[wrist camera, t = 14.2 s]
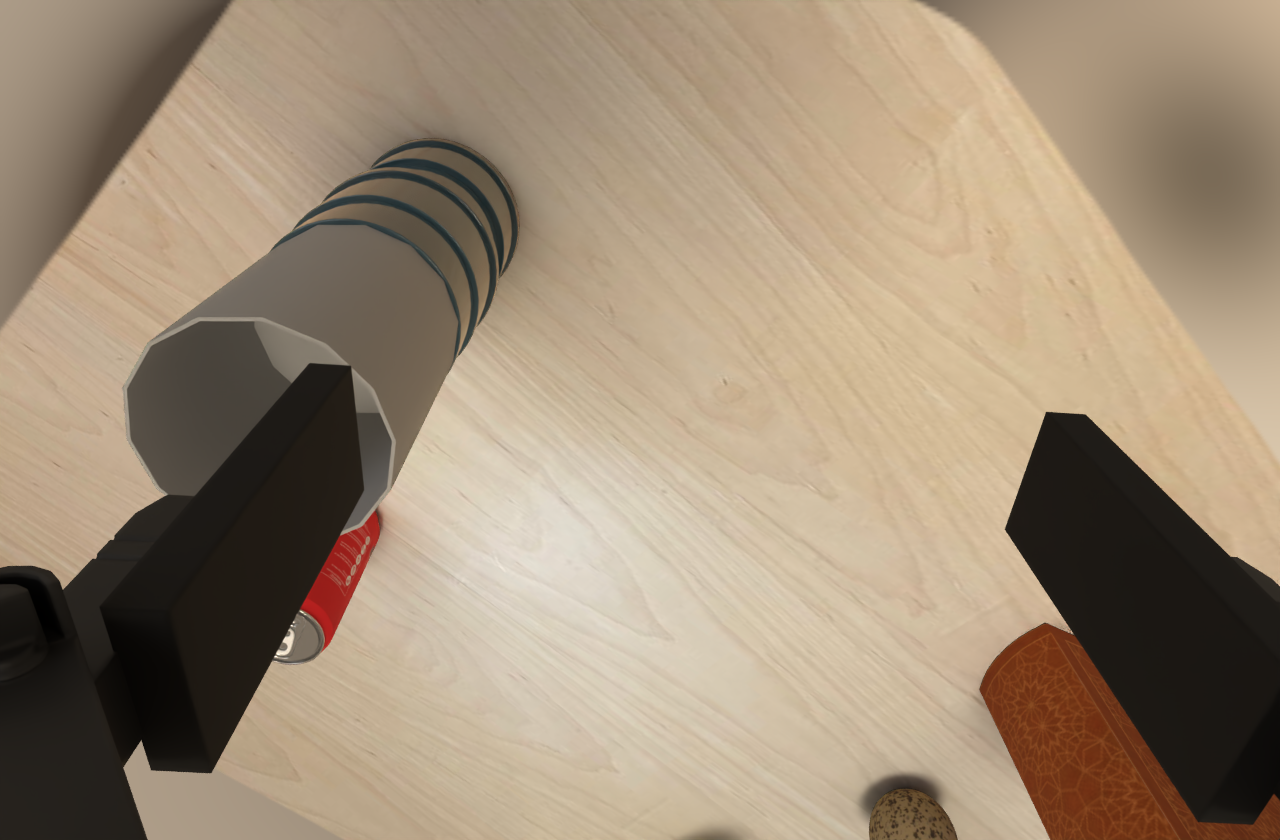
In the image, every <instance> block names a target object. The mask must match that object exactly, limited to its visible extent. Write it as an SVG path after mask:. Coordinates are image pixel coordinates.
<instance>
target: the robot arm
mask: <svg viewBox="0 0 1280 840" xmlns="http://www.w3.org/2000/svg"><path fill="white" fill-rule="evenodd" d="M363 492H364V481H363V472H362V462H361V453H360V444H359V434H358V425H357V415H356V406H355V396H354V387H353V377H352V368H351V366H348V365H333V364H318V363H309V364H308V365H307V366H306V368H305V369H304V370H303V371H302V372H301V373H300V374H299V376H298V377H297V378H296V379H295V380H294V381H293V383H292V384H291V385H290V386H289V387H288V388H287V390H286V391H285V392H284V393H283V394H282V395H281V397H280V398H279V399H278V400H277V401H276V402H275V403H274V405H273V406H272V407H271V408H270V409H269V410H268V412H267V413H266V414H265V415H264V416H263V417H262V419H261V420H260V421H259V422H258V423H257V424H256V426H255V427H254V428H253V429H252V430H251V431H250V432H249V434H248V435H247V436H246V437H245V438H244V439H243V441H242V442H241V443H240V444H239V445H238V446H237V448H236V449H235V450H234V451H233V452H232V453H231V454H230V456H229V457H228V458H227V459H226V460H225V461H224V463H223V464H222V465H221V466H220V467H219V468H218V470H217V471H216V472H215V473H214V474H213V475H212V477H211V478H210V479H209V480H208V481H207V482H206V483H205V485H204V486H203V487H202V488H201V489H200V490H199V492H198V493H197V494H196V495H195V496H186V495H170V494H168V495H166V496H164V497H163V498H161V499H159V500H157V501H156V502H154V503H152V504H151V505H149V506H147V507H145V508H144V509H142V510H140V511H138V512H137V513H135V514H134V515H133V517H132V518H131V519H130V520H129V521H128V522H127V523H126V524H125V525H124V526H123V527H122V528H121V529H120V530H119V531H118V532H117V533H116V535H115V538H114V540H110V541H109V542H108V543H107V544H106V545H105V546H104V547H103V548H102V549H101V550H100V551H99V552H98V554H97V558H96V559H92V560H91V561H90V562H89V563H88V564H87V565H86V566H85V567H84V568H83V569H82V570H81V572H80V573H79V574H78V575H77V576H76V577H75V578H74V579H73V580H72V581H71V582H70V583H69V584H68V585H67V586H66V587H65V588H64V590H62V587H61V584H60V581H59V580H58V579H57V578H56V576H55V575H54V574H53V573H52V572H51V571H49V570H45V569H42V568H38V567H35V566H7V567H2V568H0V840H148V839H147V837H146V834H145V831H144V828H143V825H142V822H141V819H140V816H139V813H138V810H137V807H136V804H135V802H134V798H133V795H132V792H131V790H130V786H129V783H128V781H127V777H126V775H125V772H124V769H123V767H124V765H125V764H126V762H127V761H128V759H129V758H130V756H131V755H132V753H133V751H134V750H135V749H136V747H137V745H138V744H139V743H140V741H141V740H142V743H143V746H144V749H145V753H146V756H147V759H148V762H149V765H150V768H151V770H156V771H177V772H196V773H212V771H213V769H214V767H215V765H216V764H217V762H218V760H219V758H220V756H221V754H222V752H223V751H224V749H225V747H226V745H227V743H228V741H229V740H230V738H231V736H232V734H233V732H234V730H235V728H236V727H237V725H238V723H239V721H240V719H241V717H242V716H243V714H244V712H245V710H246V708H247V706H248V704H249V703H250V701H251V699H252V697H253V695H254V693H255V691H256V690H257V688H258V686H259V684H260V682H261V680H262V679H263V677H264V675H265V673H266V671H267V669H268V667H269V666H270V664H271V662H272V660H273V658H274V656H275V654H276V653H277V651H278V649H279V647H280V645H281V643H282V642H283V640H284V638H285V636H286V634H287V632H288V630H289V629H290V627H291V625H292V623H293V621H294V619H295V618H296V616H297V614H298V612H299V610H300V608H301V606H302V605H303V603H304V601H305V599H306V597H307V595H308V593H309V592H310V590H311V588H312V586H313V584H314V582H315V581H316V579H317V577H318V575H319V573H320V571H321V569H322V568H323V566H324V564H325V562H326V560H327V558H328V557H329V555H330V553H331V551H332V549H333V547H334V545H335V544H336V542H337V540H338V538H339V536H340V534H341V532H342V531H343V529H344V527H345V525H346V523H347V521H348V520H349V518H350V516H351V514H352V512H353V510H354V508H355V507H356V505H357V503H358V501H359V499H360V497H361V495H362V494H363ZM1005 530H1006V532H1007V534H1008V535H1009V537H1010V538H1011V540H1012V541H1013V543H1014V544H1015V546H1016V547H1017V549H1018V550H1019V552H1020V553H1021V555H1022V556H1023V558H1024V559H1025V561H1026V562H1027V564H1028V565H1029V567H1030V568H1031V570H1032V571H1033V573H1034V574H1035V576H1036V577H1037V579H1038V580H1039V582H1040V584H1041V585H1042V587H1043V588H1044V590H1045V591H1046V593H1047V594H1048V596H1049V597H1050V599H1051V600H1052V602H1053V603H1054V605H1055V606H1056V608H1057V609H1058V611H1059V612H1060V614H1061V615H1062V617H1063V618H1064V620H1065V621H1066V623H1067V624H1068V626H1069V627H1070V629H1071V630H1072V632H1073V634H1074V635H1075V637H1076V638H1077V640H1078V641H1079V643H1080V644H1081V646H1082V647H1083V649H1084V650H1085V652H1086V653H1087V655H1088V656H1089V658H1090V659H1091V661H1092V662H1093V664H1094V665H1095V667H1096V668H1097V670H1098V671H1099V673H1100V674H1101V676H1102V677H1103V679H1104V680H1105V682H1106V684H1107V685H1108V687H1109V688H1110V690H1111V691H1112V693H1113V694H1114V696H1115V697H1116V699H1117V700H1118V702H1119V703H1120V705H1121V706H1122V708H1123V709H1124V711H1125V712H1126V714H1127V715H1128V717H1129V718H1130V720H1131V721H1132V723H1133V724H1134V726H1135V727H1136V729H1137V730H1138V732H1139V734H1140V735H1141V737H1142V738H1143V740H1144V741H1145V743H1146V744H1147V746H1148V747H1149V749H1150V750H1151V752H1152V753H1153V755H1154V756H1155V758H1156V759H1157V761H1158V762H1159V764H1160V765H1161V767H1162V768H1163V770H1164V771H1165V773H1166V774H1167V776H1168V777H1169V779H1170V781H1171V782H1172V784H1173V785H1174V787H1175V788H1176V790H1177V791H1178V793H1179V794H1180V796H1181V797H1182V799H1183V800H1184V802H1185V803H1186V805H1187V806H1188V808H1189V809H1190V811H1191V812H1192V814H1193V815H1194V817H1195V818H1196V820H1197V821H1198V822H1206V823H1227V824H1247V825H1253V824H1254V823H1255V821H1256V820H1257V818H1258V817H1259V815H1260V814H1261V812H1262V811H1263V809H1264V808H1265V806H1266V805H1267V803H1268V802H1269V800H1270V799H1271V797H1272V796H1273V795H1274V794H1275V795H1276V797H1277V798H1278V799H1279V801H1280V586H1279V585H1278V584H1277V583H1276V582H1275V581H1274V580H1272V579H1271V578H1270V577H1268V576H1266V575H1265V574H1263V573H1262V572H1260V571H1258V570H1257V569H1255V568H1254V567H1252V566H1250V565H1249V564H1247V563H1246V562H1244V561H1243V560H1241V559H1239V558H1238V557H1230V556H1229V555H1228V554H1227V553H1226V552H1225V551H1224V550H1223V549H1222V548H1221V547H1220V546H1219V545H1218V544H1217V543H1216V542H1215V541H1214V540H1213V539H1212V538H1211V537H1210V536H1209V535H1208V534H1207V533H1206V532H1205V531H1204V530H1203V529H1202V528H1201V527H1200V526H1199V525H1198V524H1197V523H1196V522H1195V521H1194V520H1193V519H1192V518H1190V517H1189V516H1188V515H1187V514H1186V513H1185V512H1184V511H1183V510H1182V509H1181V508H1180V507H1179V506H1178V505H1177V504H1176V503H1175V502H1174V501H1173V500H1172V499H1171V498H1170V497H1169V496H1168V495H1167V494H1166V493H1165V492H1164V491H1163V490H1162V489H1161V488H1160V487H1159V486H1158V485H1157V484H1156V483H1155V482H1154V481H1153V480H1152V479H1151V478H1150V477H1149V476H1148V475H1147V474H1146V473H1145V472H1144V471H1143V470H1142V469H1141V468H1140V467H1139V466H1138V465H1136V464H1135V463H1134V462H1133V461H1132V460H1131V459H1130V458H1129V457H1128V456H1127V455H1126V454H1125V453H1124V452H1123V451H1122V450H1121V449H1120V448H1119V447H1118V446H1117V445H1116V444H1115V443H1114V442H1113V441H1112V440H1111V439H1110V438H1109V437H1108V436H1107V435H1106V434H1105V433H1104V432H1103V431H1102V430H1101V429H1100V428H1099V427H1098V426H1097V425H1096V424H1095V423H1094V422H1093V421H1092V420H1091V419H1090V418H1089V417H1088V416H1087V415H1085V414H1070V413H1055V412H1046V414H1045V417H1044V420H1043V423H1042V425H1041V428H1040V431H1039V434H1038V437H1037V440H1036V442H1035V445H1034V448H1033V451H1032V454H1031V457H1030V459H1029V462H1028V465H1027V468H1026V471H1025V474H1024V477H1023V479H1022V482H1021V485H1020V488H1019V491H1018V494H1017V496H1016V499H1015V502H1014V505H1013V508H1012V511H1011V513H1010V516H1009V519H1008V522H1007V525H1006V528H1005ZM1278 840H1280V838H1279V839H1278Z"/></svg>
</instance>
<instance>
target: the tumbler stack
mask: <svg viewBox="0 0 1280 840" xmlns="http://www.w3.org/2000/svg"><path fill="white" fill-rule="evenodd" d="M317 225H366V226H369V227H371V228H373V229H375V230H378V231H380V232H382V233H384V234H387V235H389V236H391V237H393V238H395V239H398V240H400V241H402V242H404V243H407V244H409V245H411V246H412V247H413V248H414V249H415V250H416V252H417V253H418V254H419V255H420V256H421V257H422V258H423V259H424V260H425V261H426V262H427V263H428V264H429V265H430V266H431V267H432V269H433V270H434V271H435V272H436V273H437V274H438V275H439V276H440V277H441V278H442V279H443V280H444V283H445V285H446V288H447V291H448V294H449V297H450V300H451V302H452V305H453V308H454V311H455V314H456V317H457V319H458V330H457V337H456V345H455V352H454V359H453V363H452V365H451V367H450V369H449V371H450V370H451V368H452V366H453V364H454V362H455V360H456V358H457V357H458V356H459V355H460V354H461V353H462V351H463V350H464V349H465V347H466V346H467V344H468V343H469V341H470V339H471V337H472V335H473V332H474V330H475V328H476V327H477V326H478V325H479V324H480V322H481V321H482V320H483V318H484V317H485V315H486V314H487V312H488V310H489V308H490V306H491V304H492V301H493V299H494V296H495V293H496V290H497V284H498V279H499V278H500V276H501V275H502V274H503V273H504V272H505V270H506V269H507V267H508V266H509V264H510V262H511V260H512V258H513V255H514V253H515V250H516V247H517V243H518V238H519V214H518V209H517V205H516V202H515V199H514V196H513V193H512V191H511V189H510V187H509V185H508V184H507V182H506V181H505V179H504V178H503V176H502V175H501V173H500V172H499V171H498V170H497V169H496V168H495V166H494V165H492V164H491V163H490V162H489V161H488V160H487V159H486V158H485V157H483V156H482V155H480V154H479V153H478V152H476V151H474V150H472V149H471V148H469V147H467V146H464V145H462V144H459V143H457V142H453V141H449V140H445V139H437V138H423V139H417V140H412V141H408V142H405V143H402V144H400V145H398V146H396V147H394V148H393V149H391V150H390V151H388V152H387V153H385V154H384V155H382V156H381V157H380V158H379V159H378V160H377V161H376V162H375V163H374V164H373V165H372V167H371V168H370V169H369V170H368V171H366V172H362V173H360V174H357V175H355V176H353V177H351V178H349V179H348V180H346V181H345V182H343V183H342V184H340V185H339V186H337V187H336V188H335V189H334V190H333V191H332V192H331V193H329V194H328V195H327V196H326V198H325V199H324V200H323V202H322V203H321V204H320V205H319V206H317V207H316V208H314V209H313V210H311V211H310V212H309V213H308V214H306V215H305V216H304V217H303V218H302V219H301V220H300V221H299V222H298V224H297V225H296V226H295V227H294V229H293V230H292V231H291V232H290V233H288V234H287V235H286V236H284V237H283V238H282V239H281V240H280V241H279V242H278V243H277V244H276V245H275V246H274V247H273V248H272V249H271V251H272V250H273V249H275V248H276V247H277V246H279V245H280V244H282V243H284V242H286V241H288V240H290V239H292V238H294V237H296V236H297V235H299V234H301V233H303V232H305V231H307V230H309V229H311V228H313V227H315V226H317ZM271 251H270V252H271ZM449 371H448V373H449ZM448 373H447V374H448ZM446 376H447V375H446Z"/></svg>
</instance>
